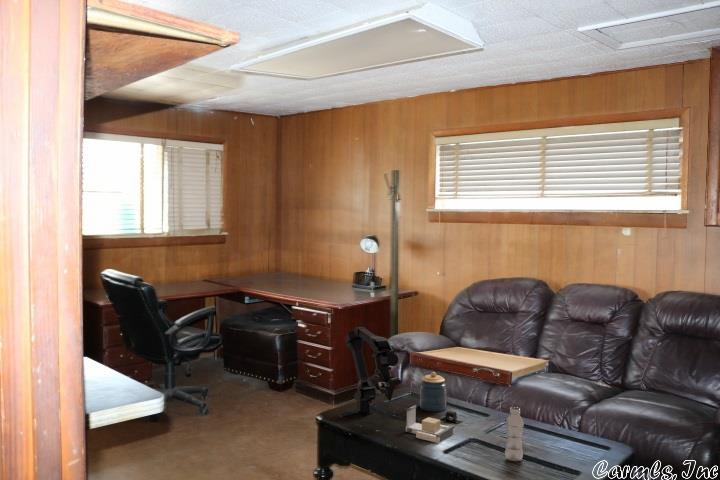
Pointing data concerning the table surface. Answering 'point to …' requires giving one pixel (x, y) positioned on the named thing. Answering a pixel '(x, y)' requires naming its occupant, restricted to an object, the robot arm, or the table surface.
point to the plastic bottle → (514, 435)
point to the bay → (439, 436)
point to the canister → (433, 393)
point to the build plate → (451, 420)
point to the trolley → (427, 424)
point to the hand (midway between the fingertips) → (389, 400)
